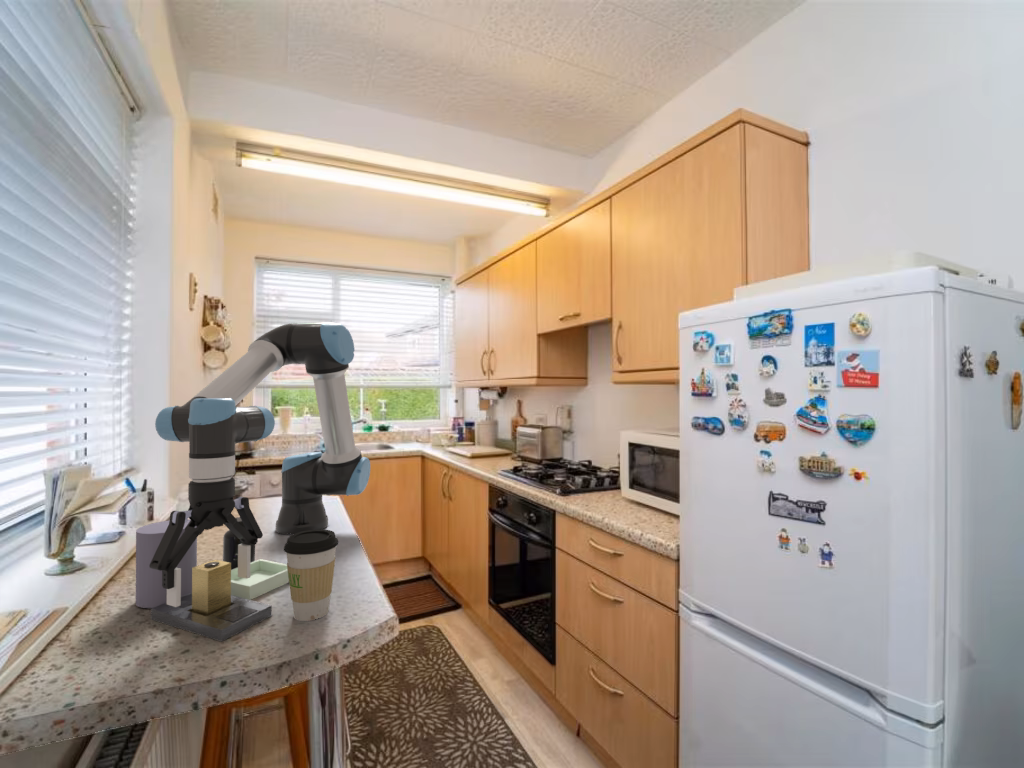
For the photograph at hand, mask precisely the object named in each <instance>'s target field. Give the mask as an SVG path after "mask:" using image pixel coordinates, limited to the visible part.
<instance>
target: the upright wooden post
mask: <svg viewBox="0 0 1024 768" xmlns="http://www.w3.org/2000/svg"><path fill="white" fill-rule="evenodd" d="M229 606H231V563H229V562H225V561H223V560H220V559H213V560H210V561H208V562H205V563H201V564H199V565H198V564H197V566H195V567H192V612H193V613H196V614H200V615H203V616H209V615H211V614H213V613H216V612H218V611H220V610H222V609H224V608H227V607H229Z"/></svg>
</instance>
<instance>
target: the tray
mask: <svg viewBox="0 0 1024 768" xmlns="http://www.w3.org/2000/svg"><path fill="white" fill-rule="evenodd" d="M288 583H289V578H288V570H287V563H281V562H276V561H274V560H267V559H262V558H259V559H257V560H256V559H255V561H254V562H251V563H250V578H248V579H246V578H241V577H238V568H235V569H232V570H231V595H233V596H237V597H241V598H245V599H249V600H253V599H256V598H258V597H260V596H262V595H264V594H266V593H268V592H271V591H274V590H275V589H277V588H279V587H281V586H284V585H286V584H288Z"/></svg>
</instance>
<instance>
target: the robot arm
mask: <svg viewBox="0 0 1024 768" xmlns="http://www.w3.org/2000/svg"><path fill="white" fill-rule="evenodd" d="M354 357H355V342H354V340H353V336H352V335H351V332H350V331H349V329H348V328H347V327H346V326H345V325H344V324H342V323H338V322H337V323H335V322H327V321H326V322H325V321H324V322H304V323H303V322H302V323H301V322H299V323H297V322H296V323H295V322H291V323H286V324H284V325H280V326H277V327H275V328H273V329H270V330H269V331H268V332H265V333H264V334H262V335H261V336H259V337H257V338H256V339H255V340H254V341H253V342H251V343H249V346H248V347H247V352H245V354H244V355H242V356H241V357H240V358H239V359H237V360H236V361H235V362H234V363H233V364H231V365H230V366H228V368H226V369H225V370H224V371H223V372H222V373H220V374H219V375H218V376H217V377H216V378H214V380H212V381H211V382H210V383H208V384H207V385H206V386H205V387H204V388H202V390H200V391H199V392H198V393H196V395H194V396H193V397H192V398H191V399H190V400H188V401H187V402H186V403H184V404H183V405H181V406H179V405H175V406H174V405H173V406H167V407H165V408H163V409H162V410H160V411H159V413H158V414H157V416H156V418H155V421H154V422H155V423H154V424H155V430H156V432H157V433H156V434H158V436H159V437H160V438H161V439H163V440H165V441H168V442H180V443H185V442H186V443H189V449H188V450H189V453H188V479H190V480H191V481H189V483H188V492H187V493H188V494H187V495H188V497H187V500H188V502H189V508H188V509H187V510H182V511H179V510H172V511H171V512H170V515H169V520H170V521H169V520H168V521H169V525H168V527H167V529H166V531H165V534H164V536H163V538H162V540H161V542H160V544H159V546H158V548H157V550H156V552H155V554H154V557H153V559H152V561H151V563H150V565H149V567H150V568H152V569H156V570H160V571H161V570H162V586H163V588H165V589H167V605H170V606H174V607H178V606H180V605H181V568H177V565H178V564H179V563H180V561H181V560H182V558H183V557H184V555H185V554H186V553H187V551H188V550H189V548H190V547H191V545H192V544H193V542H194V541H195V540H196V538H197V539H198V537H199V536H200V535H201V534H203V532H204V531H209V530H212V529H214V528H216V527H217V528H220V527H223V526H225V527H226V528H227V529H228V530H230V531H231V532H232V533H233V534H234V535H235V536H237V537H238V538H239V539H240V540H241V541H242V542H243V544H239V545H238V577H241V578H246V579H248V578H250V559H252V558H253V545H255V546H256V545H257V544H258V541H259V540H258V539H262V537H263V536H264V534H263V532H262V530H261V528H260V525H259V522H257V520H256V517H255V516H254V514H253V512H252V510H251V508H250V500H249V497H245V496H236V498H235V499H234V497H235V494H236V479H235V478H234V477H233V476H234V475H236V444H241V443H247V442H248V443H249V442H258V441H260V440H263V439H266V438H268V437H269V436H270V435H271V434H272V432H273V431H274V428H275V424H276V423H275V417H274V414H273V413H272V411H271V410H269V409H268V408H266V407H264V406H258V405H249V406H237V405H238V404H240V402H242V400H244V398H245V397H247V396H248V395H249V394H250V392H252V391H253V390H254V389H255V388H256V387H257V386H258V385H259V384H260V383H261V382H262V381H263V380H264V379H265V378H266V377H267V376H268V375H269V374H270V373H273V372H277V371H279V370H281V368H282V367H285V366H289V365H305V366H304V367H305V372H306V374H307V375H309V376H310V377H312V379H313V384H314V391H315V397H316V403H317V409H318V414H319V419H320V426H321V427H320V428H321V433H322V438H323V444H324V449H325V451H324V452H321V451H314V452H312V451H311V452H307V453H306V452H305V453H300V454H294V455H290V456H287V457H285V458H284V459H283V460H282V464H281V465H282V467H281V472H280V473H281V507H280V510H279V513H278V517H277V520H276V522H275V532H276V533H278V534H281V535H293V534H295V533H299V532H303V531H308V530H320V529H322V530H324V529H325V528H327V527H328V526H329V516H328V515H327V512H326V509H325V505H324V503H323V495H324V496H330V495H331V496H338V495H339V496H347V497H349V496H359V495H361V494H362V493H363V492H364V491H365V490H366V488H367V486H368V484H369V480H370V475H371V461H370V459H369V457H366V456H363V455H362V450H361V448H360V447H358V446H357V445H356V443H355V438H354V437H355V436H354V431H353V423H352V417H351V409H350V402H349V395H348V390H347V382H346V375H345V373H346V371H347V370H348V369H349V368H350V365H349V364H350V363H352V362H353V360H354ZM234 509H236V512H237V514H238V517H240V518H241V520H242V522H243V524H244V526H245V528H246V529H245V528H244V527H243V526H242V525H241V524H240V523H239V522H238V521H237V519H236V518H237V517H236V516H234V515H233V514H232V513H233V511H234ZM188 519H189V520H190V522H189V523H188V525H187V526H186V527H185V532H184V533H183V534H182V536H181V537H180V539H179V540H178V538H179V536H180V534H181V532H182V530H183V527H184V524H185V522H187V521H188ZM195 526H197V527H196V528H194V527H195Z"/></svg>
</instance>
